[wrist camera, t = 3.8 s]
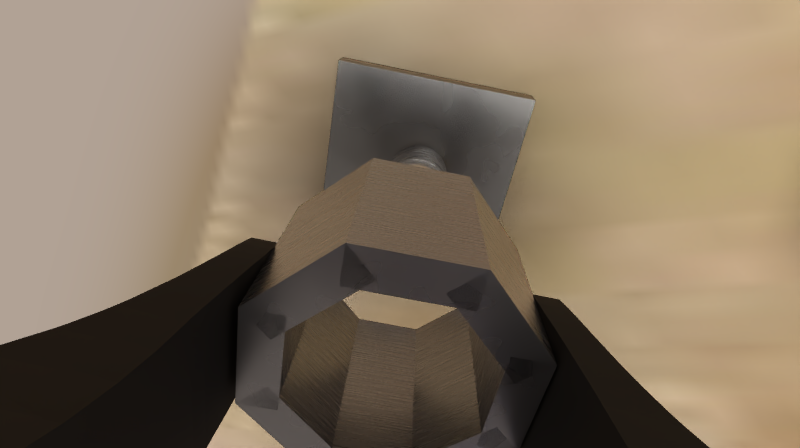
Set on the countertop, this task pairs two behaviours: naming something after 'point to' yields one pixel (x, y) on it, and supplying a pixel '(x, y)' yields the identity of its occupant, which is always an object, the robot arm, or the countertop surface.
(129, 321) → the robot arm
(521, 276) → the octagonal tube
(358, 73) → the square base with peg
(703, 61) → the countertop surface
